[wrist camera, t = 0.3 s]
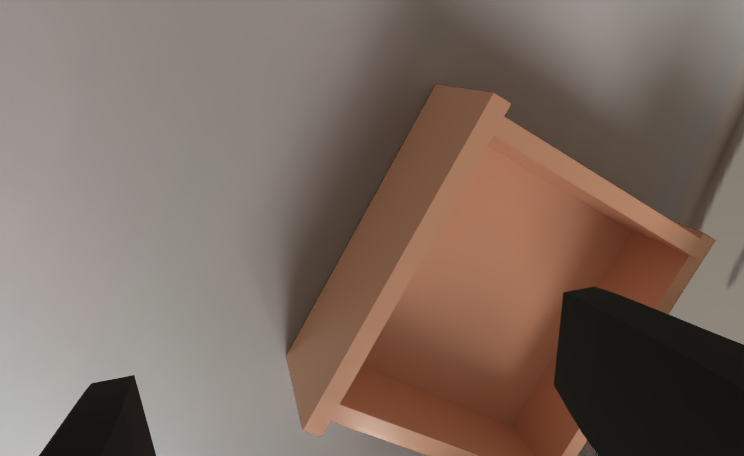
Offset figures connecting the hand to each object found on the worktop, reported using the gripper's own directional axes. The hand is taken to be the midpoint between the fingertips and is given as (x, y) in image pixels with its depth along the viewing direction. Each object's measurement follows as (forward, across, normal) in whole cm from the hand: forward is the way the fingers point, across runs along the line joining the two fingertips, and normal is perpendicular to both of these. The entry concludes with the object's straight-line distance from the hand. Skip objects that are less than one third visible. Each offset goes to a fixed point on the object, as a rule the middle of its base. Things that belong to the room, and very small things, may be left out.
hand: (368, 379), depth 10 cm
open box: (+10, -6, +5) cm, 13 cm away
